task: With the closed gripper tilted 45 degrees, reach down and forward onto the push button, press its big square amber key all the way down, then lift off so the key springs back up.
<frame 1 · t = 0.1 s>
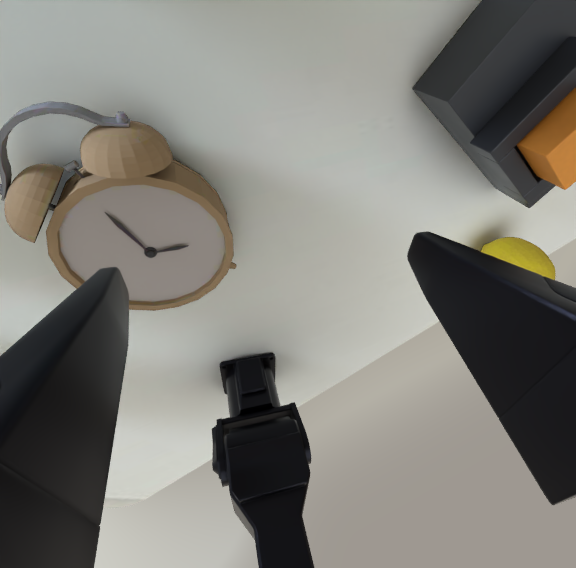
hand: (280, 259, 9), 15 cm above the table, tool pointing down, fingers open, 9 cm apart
push button: (521, 80, 23), on the table
key: (570, 139, 19), point 7 cm above the table, slide at 0.1 cm
lemon: (483, 244, 34), on the table
alarm clock: (135, 207, 22), on the table
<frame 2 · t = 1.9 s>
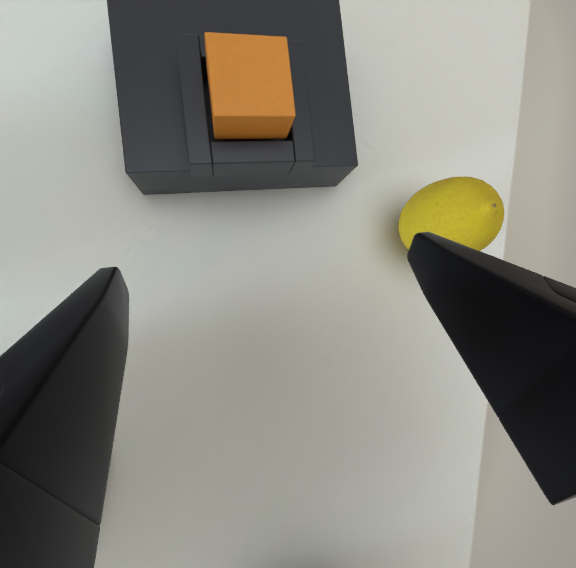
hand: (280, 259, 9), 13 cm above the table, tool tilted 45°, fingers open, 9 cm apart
push button: (237, 115, 23), on the table
key: (249, 90, 16), point 7 cm above the table, slide at 0.1 cm
lemon: (409, 233, 26), on the table
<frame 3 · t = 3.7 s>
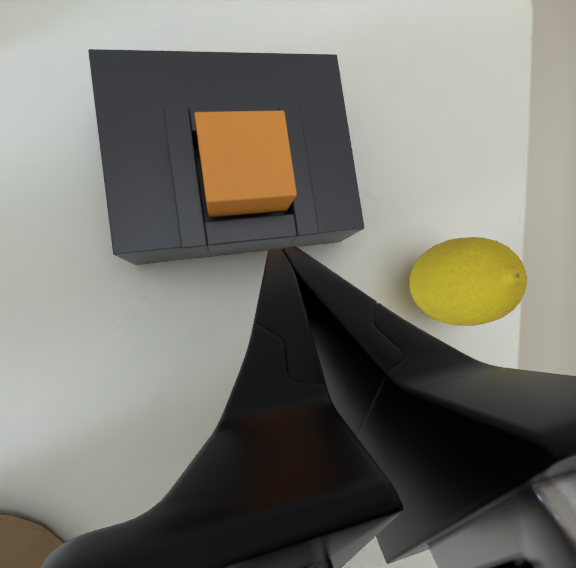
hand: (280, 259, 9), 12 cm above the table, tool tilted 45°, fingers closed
push button: (233, 174, 22), on the table
key: (245, 166, 15), point 7 cm above the table, slide at 0.1 cm
lemon: (419, 286, 24), on the table
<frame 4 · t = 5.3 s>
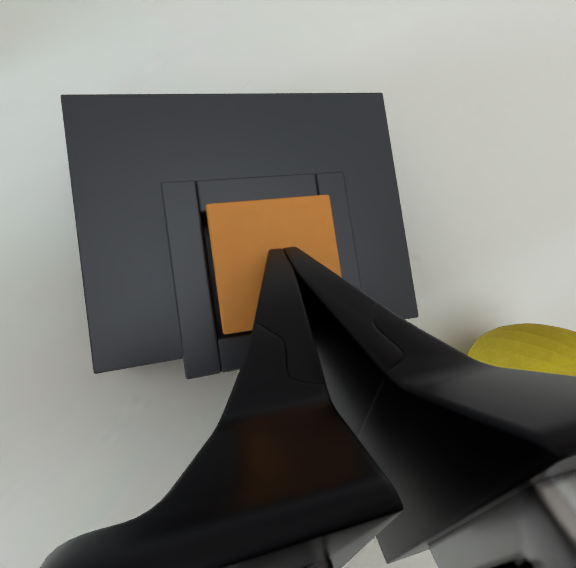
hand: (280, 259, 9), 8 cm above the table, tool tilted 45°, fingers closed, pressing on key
push button: (248, 235, 17), on the table
key: (273, 265, 11), point 7 cm above the table, slide at -0.1 cm, touching gripper
lemon: (471, 363, 20), on the table
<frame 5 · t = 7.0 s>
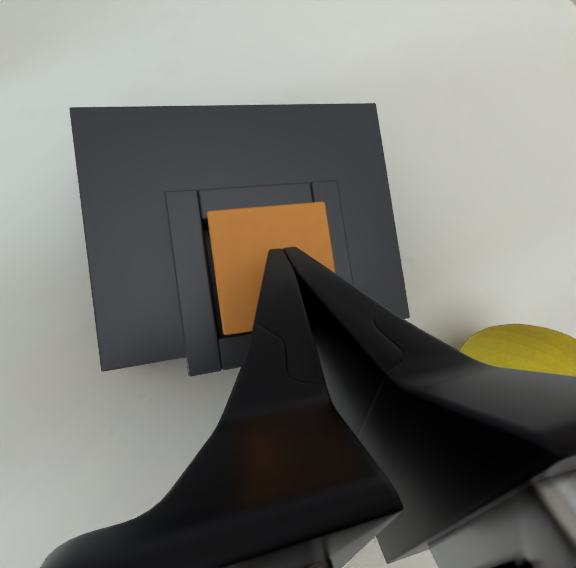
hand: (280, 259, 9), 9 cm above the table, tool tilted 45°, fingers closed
push button: (247, 239, 18), on the table
key: (271, 269, 11), point 7 cm above the table, slide at 0.1 cm
lemon: (462, 362, 21), on the table
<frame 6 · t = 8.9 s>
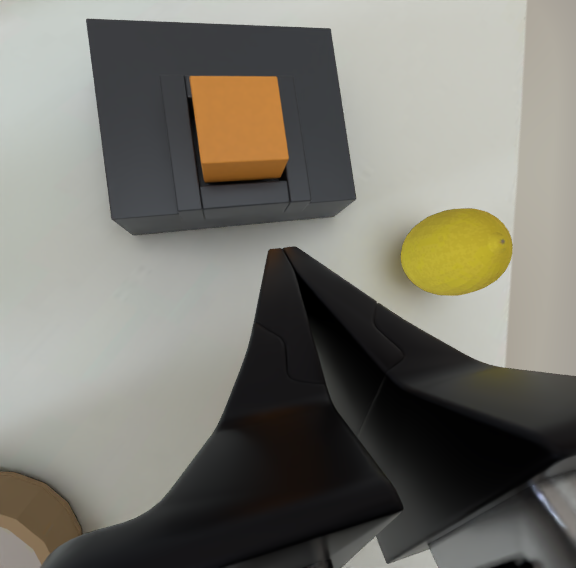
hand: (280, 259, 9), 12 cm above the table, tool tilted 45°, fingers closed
push button: (229, 148, 22), on the table
key: (239, 131, 15), point 7 cm above the table, slide at 0.1 cm
lemon: (411, 261, 25), on the table
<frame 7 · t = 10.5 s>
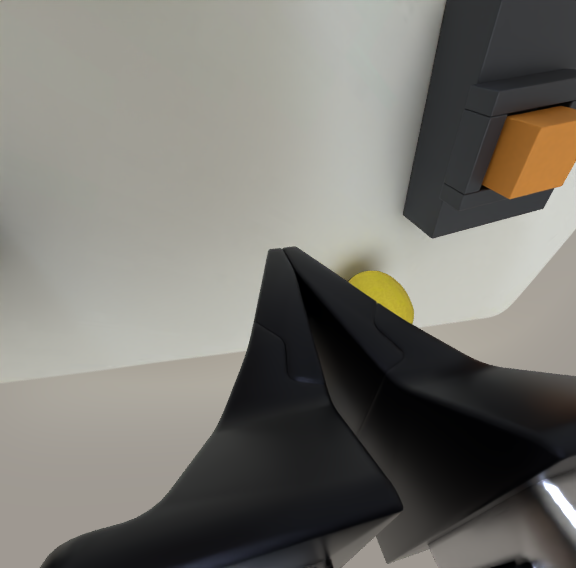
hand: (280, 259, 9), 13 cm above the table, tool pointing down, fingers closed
push button: (483, 117, 24), on the table
key: (534, 153, 18), point 7 cm above the table, slide at 0.1 cm
lemon: (354, 276, 31), on the table
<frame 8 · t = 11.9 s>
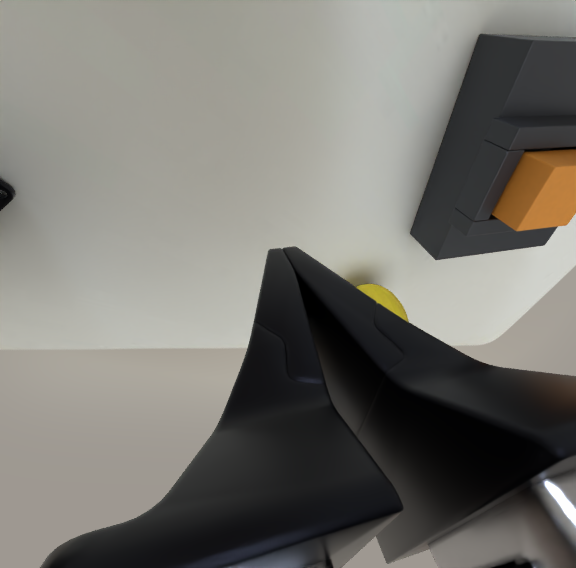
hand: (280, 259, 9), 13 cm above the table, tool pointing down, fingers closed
push button: (498, 150, 24), on the table
key: (545, 190, 19), point 7 cm above the table, slide at 0.1 cm
lemon: (354, 287, 31), on the table
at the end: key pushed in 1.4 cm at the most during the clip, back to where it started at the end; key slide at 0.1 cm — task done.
